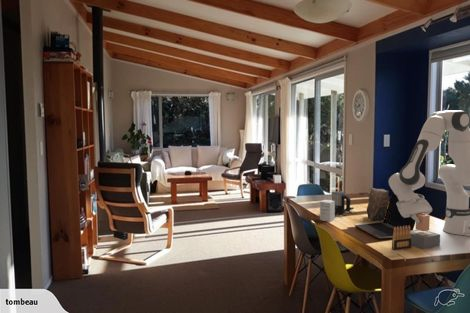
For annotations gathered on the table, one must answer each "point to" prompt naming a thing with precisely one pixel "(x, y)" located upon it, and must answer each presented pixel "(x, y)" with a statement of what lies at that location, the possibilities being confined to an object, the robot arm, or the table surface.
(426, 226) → the block
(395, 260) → the table surface
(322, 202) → the supplement box
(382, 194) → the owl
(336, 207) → the milk frother
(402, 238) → the ammunition clip
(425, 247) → the base block
